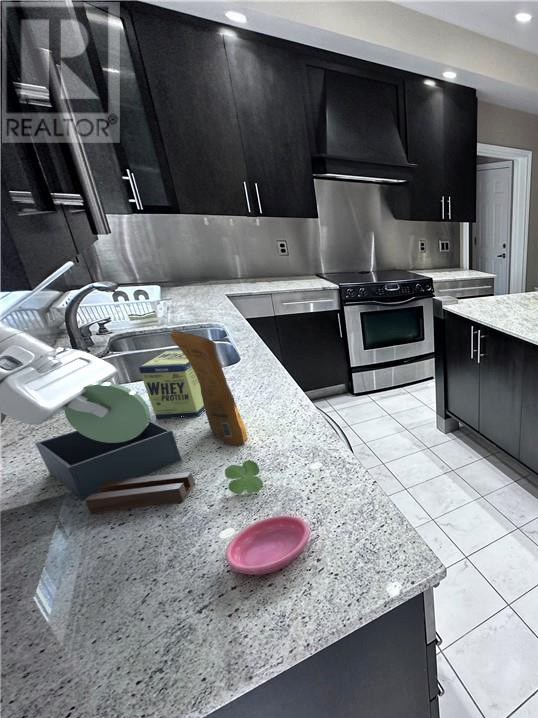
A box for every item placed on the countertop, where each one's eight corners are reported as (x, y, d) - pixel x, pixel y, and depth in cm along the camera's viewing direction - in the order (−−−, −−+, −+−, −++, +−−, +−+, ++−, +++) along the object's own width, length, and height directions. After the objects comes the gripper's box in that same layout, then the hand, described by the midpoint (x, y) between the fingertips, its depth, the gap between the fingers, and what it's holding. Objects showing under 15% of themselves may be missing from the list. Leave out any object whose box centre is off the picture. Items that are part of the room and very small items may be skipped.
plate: (155, 439, 79) (136, 382, 74) (78, 446, 75) (53, 387, 71) (158, 436, 80) (139, 380, 75) (82, 442, 76) (58, 384, 72)
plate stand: (183, 502, 81) (178, 488, 80) (90, 514, 77) (84, 500, 76) (195, 484, 87) (191, 471, 85) (109, 494, 82) (103, 481, 81)
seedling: (257, 500, 90) (246, 503, 84) (227, 478, 89) (214, 480, 83) (281, 474, 92) (273, 475, 86) (252, 452, 91) (241, 452, 85)
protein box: (155, 419, 111) (137, 367, 105) (183, 396, 125) (168, 348, 119) (198, 417, 114) (183, 365, 108) (221, 394, 128) (208, 347, 122)
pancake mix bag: (227, 454, 97) (196, 343, 86) (197, 429, 108) (166, 327, 97) (257, 443, 102) (231, 336, 92) (225, 420, 113) (199, 322, 102)
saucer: (305, 574, 66) (302, 560, 65) (218, 590, 63) (213, 575, 62) (316, 522, 77) (313, 509, 76) (242, 534, 74) (238, 520, 73)
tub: (83, 500, 81) (67, 468, 78) (49, 474, 88) (34, 443, 85) (181, 459, 95) (172, 430, 92) (146, 439, 102) (136, 412, 99)
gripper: (54, 356, 78) (131, 398, 85) (-45, 400, 60) (63, 450, 66) (75, 333, 78) (151, 377, 84) (-19, 371, 60) (87, 423, 66)
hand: (111, 410), depth 75 cm, fingers closed on plate, 1 cm apart
